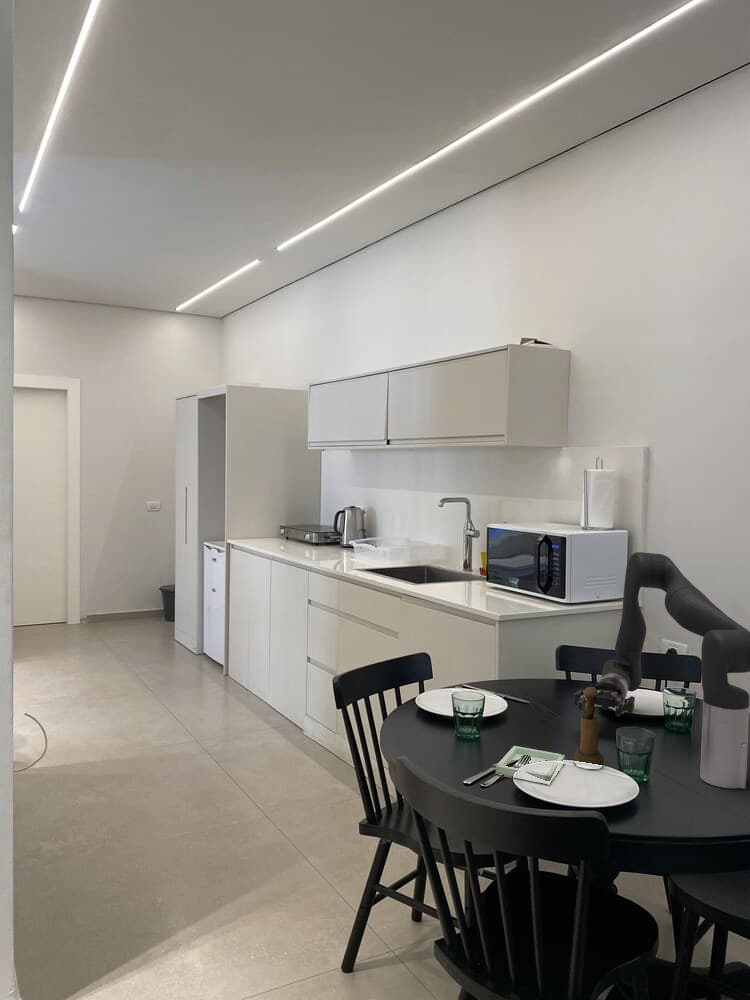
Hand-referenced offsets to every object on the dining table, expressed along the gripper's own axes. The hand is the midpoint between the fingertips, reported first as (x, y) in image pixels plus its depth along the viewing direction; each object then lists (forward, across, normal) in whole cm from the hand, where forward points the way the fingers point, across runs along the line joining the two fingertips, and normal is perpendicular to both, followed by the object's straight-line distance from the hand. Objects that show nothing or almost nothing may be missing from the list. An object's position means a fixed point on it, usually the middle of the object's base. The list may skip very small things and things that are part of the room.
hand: (598, 709), depth 195 cm
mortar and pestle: (+12, 0, +10) cm, 15 cm away
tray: (+20, -11, +10) cm, 25 cm away
